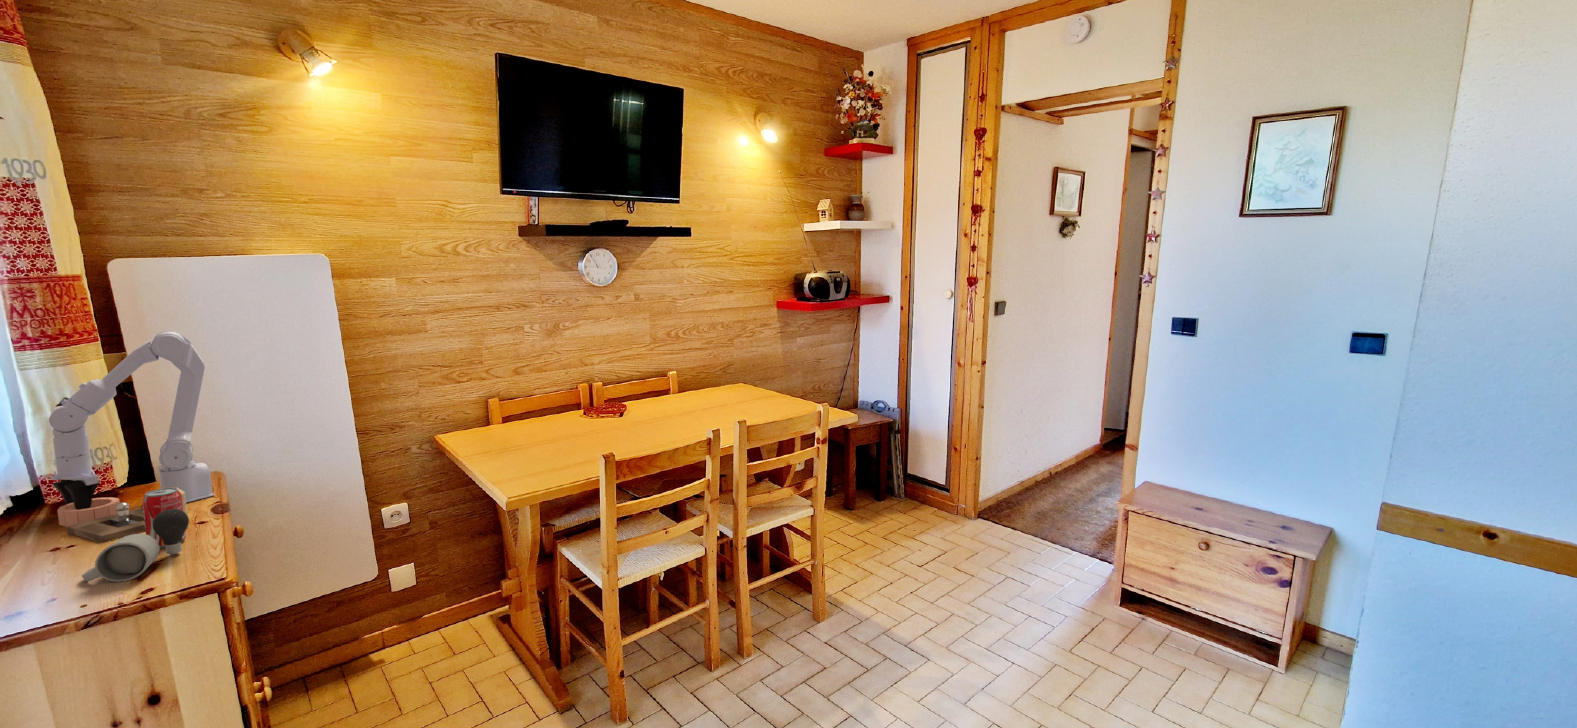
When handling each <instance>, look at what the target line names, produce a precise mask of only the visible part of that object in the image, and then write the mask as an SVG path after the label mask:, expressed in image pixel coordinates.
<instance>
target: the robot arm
mask: <svg viewBox="0 0 1577 728" xmlns="http://www.w3.org/2000/svg"><path fill="white" fill-rule="evenodd" d="M160 358H162V359H164V360H166V361H169V362H170V363H171V364H172V365H174V366H175V368H177V369H179V371H180V374H179V379H178V385H177V390H176V395H175V400H174V403H173V404H174V405H173V410H172V416H171V421H170V425H169V430H168V435H167V439H166V441H165V442H164V443H163V444H162V446H161V447H160V450H159V457H158V461H159V463H160V466H158V475H159V483H160V484H159V485H160V487H159V488H160V489H162V488H170V487H177V488H179V489H180V490H182V491H184V492H185V499H186V504H187V503H191V502H194V501H197V500H201V499H207V498H209V497H213V496H215V493H213V487H212V485H213V484H212V477H211V475H212V474H211V471H210V468H209V466H208V465H207V464H206V463H205V462H197V461H194V460H193V456H194V455H193V449H194V447H193V445H192V444H191V443H192V436H193V435H192V434H193V430H194V424H195V420H196V415H197V409H198V404H199V398H200V393H201V389H202V384H203V380H204V379H203V378H204V373H205V368H206V366H205V362H204V360H203V359H202V357H201V356H200V354H199V353H198V351H197V350H196V348H195V347H194V345H193V344H192V342H191V340H189V339H188V338H186V337H185V336H184V335H182V334H181V333H179V332H178V331H174V330H164V331H160V332H159V333H158V334H156V335H155V336H154V338H153V339H149V340H147V341H146V342H144V343H143V344H141V345H140V346H137V348H135V349H134V350H133V351H131V352H130V354H128V355H127V356H126V357H125V358H124V359H123V360H121V362H118V364H117V365H116V366H115V367H113V369H112V370H111V371H109V372H108V373H106V375H105V376H104V377H103V378H101V379H91V380H89V381H88V382H82V383H81V384H80V385H79V386H78V388H79V389H78V390H77V391H76V392H75V393H74V394H73V395H71V396H70V397H69V398H67V399H66V398H65V399H63V400H62V401H61V402H60V404H61V406H59V407H56V409H54V410H53V411H52V413H51V414H50V415H49V418H48V423H49V426H50V427H51V428H52V435H53V438H52V442H53V451H54V457H55V464H56V465H55V466H56V470H57V471H54V475H52V476H50V480H51V481H56V482H52V485H53V487H54V488H55V489H56V490H57V491H59V493H60V495H61V496H62V498H63V500H64V502H65V505H67V504H69V503H73V502H74V505H75V508H76V510H81V509H88V508H90V507H91V503H92V499H94V494H95V493H96V489H97V488H98V486H99V485H100V480H99V475H98V474H96V473H95V470H94V469H93V467H92V458H91V450H90V442H89V441H90V440H89V439H90V438H89V434H88V433H87V428H86V424H85V423H86V422H87V420H88V418H89V417H90V416H93V415H95V414H96V413H97V412H99V410H100V409H102V408H104V406H106V404H108V403H109V402H110V401H111V400H112V399H113V398H115V396H117V393H118V392H117V389H116V387H118V385H120V384H121V383H122V382H123V381H125V380H126V379H128V377H130V376H131V375H132V374H133V373H134V372H137V370H138V369H140V367H142V366H143V365H145V364H148V363H152V362H155V361H156V362H157V361H159V359H160ZM58 480H60V481H58Z"/></svg>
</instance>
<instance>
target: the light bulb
mask: <svg viewBox="0 0 1577 728" xmlns="http://www.w3.org/2000/svg"><path fill="white" fill-rule="evenodd" d="M189 524H190V519H189V515H188V513H187V514H186V513H185V512H183V511H182V510H179V509H168V510H165V511H163V512H161V513H159V514H158V515H157V516H156V517H155V519H154V520H153V524H152V525H153V530H154V531H155V533H156V534H157V535H158V536H159V537H160V538H161V539H162V540H163V543H164V545H165V546H166V547H164V548H165V553H166V554H167V555H170V556H173V557H174V555H175V556H177V555H178V553H180V552H181V551H182V549H183V548H182V542H183V541H182V537H183V534H184V532H185V533H186V530H187V529H188V528H189ZM187 527H188V528H187ZM181 541H182V542H181Z"/></svg>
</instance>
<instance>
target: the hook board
mask: <svg viewBox="0 0 1577 728" xmlns="http://www.w3.org/2000/svg"><path fill="white" fill-rule="evenodd" d="M129 517H130V520H132V521H137V522H138V523H134V524H130V525H126V526H123V527H119V528H118V527H114V526H111V524H110V519H114V518H118V514H115V515H111V516H107V517H103V518H99V519H95V520H91V521H87V522H83V523H79V524H75V525H71V526H66V531H67V532H66V533H67V534H70V535H73V536H78V537H81V538H85V539H88V540H92V541H96V542H100V543H107V542H110V541H113V540H119V539H121V538H123V537H125V536H128V535H133V534H140V533H142V532H146V531H145V522H144V513H143V507H140V508H135V509H132V510H129Z"/></svg>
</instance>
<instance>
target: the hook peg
mask: <svg viewBox="0 0 1577 728" xmlns="http://www.w3.org/2000/svg"><path fill="white" fill-rule="evenodd" d="M116 509H117V511H118V518H114V519H110V524H111V526H113V527H117V528H119V527H123V526H126V525H130V524H134V523H138V522H137V521H133V520H130V517H129V511H130V504H129V503H128V502H125V501H124V502H120V503H119V504H118V505H117V506H116Z"/></svg>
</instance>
